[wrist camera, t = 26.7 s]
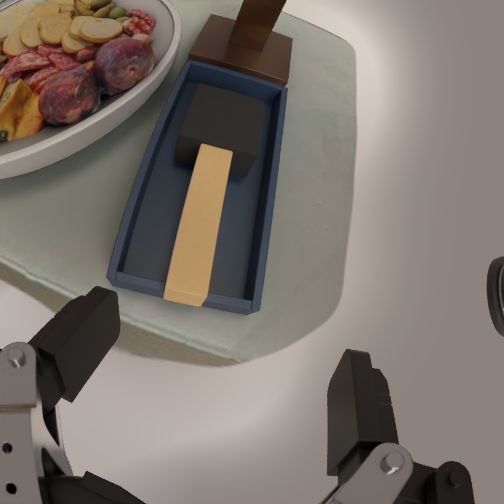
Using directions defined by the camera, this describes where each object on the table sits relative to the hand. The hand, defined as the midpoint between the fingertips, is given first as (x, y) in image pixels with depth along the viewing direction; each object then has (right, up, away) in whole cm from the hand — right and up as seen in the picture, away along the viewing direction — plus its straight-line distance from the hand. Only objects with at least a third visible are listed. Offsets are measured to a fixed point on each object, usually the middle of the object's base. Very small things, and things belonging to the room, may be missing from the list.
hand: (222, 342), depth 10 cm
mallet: (-3, +8, +13) cm, 15 cm away
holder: (-3, +9, +15) cm, 18 cm away
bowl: (-21, +22, +13) cm, 33 cm away
